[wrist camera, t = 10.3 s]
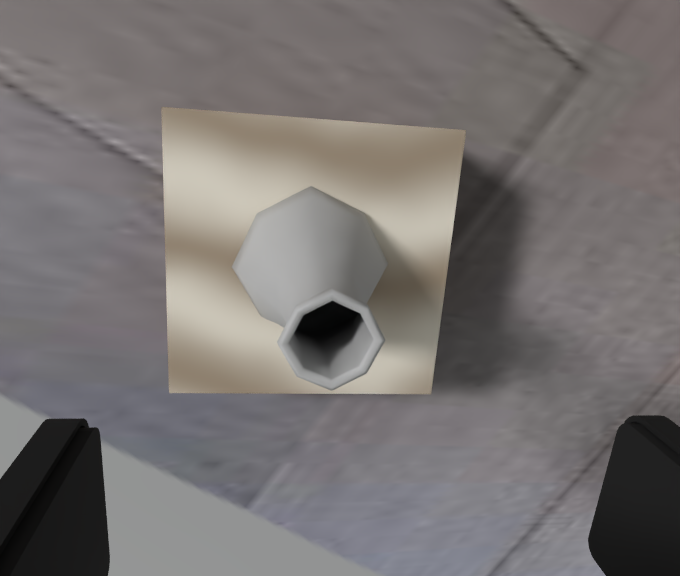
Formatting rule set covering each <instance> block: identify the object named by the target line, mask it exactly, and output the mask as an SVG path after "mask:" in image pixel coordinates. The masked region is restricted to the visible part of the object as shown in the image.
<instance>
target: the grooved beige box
mask: <svg viewBox="0 0 680 576" xmlns="http://www.w3.org/2000/svg"><path fill="white" fill-rule="evenodd" d="M465 135H466V130H455V129H442V128H429V127H416V126H403V125H390V124H377V123H364V122H351V121H338V120H325V119H312V118H299V117H286V116H273V115H260V114H247V113H234V112H221V111H208V110H195V109H182V108H169V107H162V144H163V181H164V219H165V256H166V293H167V331H168V368H169V393H296V394H431V390H432V382H433V375H434V367H435V360H436V352H437V345H438V337H439V330H440V322H441V315H442V307H443V300H444V292H445V285H446V277H447V270H448V262H449V255H450V247H451V240H452V232H453V225H454V217H455V210H456V203H457V195H458V188H459V180H460V173H461V165H462V158H463V150H464V143H465ZM310 186H312V187H314V188H316V189H318V190H320V191H322V192H324V193H326V194H328V195H330V196H332V197H334V198H336V199H338V200H340V201H342V202H344V203H346V204H348V205H350V206H352V207H354V208H356V209H358V210H360V211H362V212H364V214H365V216H366V218H367V220H368V222H369V224H370V226H371V228H372V231H373V233H374V235H375V237H376V239H377V241H378V243H379V245H380V247H381V250H382V252H383V254H384V256H385V258H386V260H387V262H388V265H387V267H386V269H385V271H384V272H383V274H382V276H381V278H380V280H379V282H378V284H377V285H376V287H375V289H374V291H373V293H372V295H371V297H370V298H369V300H368V302H367V304H368V306H369V308H370V310H371V312H372V314H373V316H374V318H375V320H376V322H377V324H378V326H379V328H380V330H381V332H382V334H383V336H384V338H385V342H384V344H383V345H382V347H381V349H380V351H379V353H378V354H377V356H376V358H375V360H374V362H373V363H372V365H371V367H370V369H369V371H368V372H367V374H365V375H363V376H361V377H359V378H357V379H355V380H353V381H351V382H349V383H347V384H345V385H343V386H341V387H339V388H337V389H335V390H333V391H331V390H328V389H326V388H323V387H321V386H318V385H316V384H314V383H311V382H309V381H306V380H304V379H301V378H299V377H296V375H295V373H294V371H293V370H292V368H291V366H290V365H289V363H288V361H287V359H286V358H285V356H284V354H283V353H282V351H281V349H280V347H279V346H278V343H277V341H278V339H279V337H280V335H281V333H282V331H283V329H284V327H282V326H280V325H279V324H277V323H274V322H272V321H270V320H267V319H265V318H263V317H261V316H260V314H259V313H258V311H257V309H256V307H255V306H254V304H253V302H252V301H251V299H250V297H249V295H248V294H247V292H246V290H245V289H244V287H243V285H242V283H241V282H240V280H239V278H238V277H237V275H236V273H235V271H234V270H233V268H232V265H233V263H234V261H235V259H236V257H237V255H238V252H239V250H240V248H241V246H242V244H243V242H244V240H245V237H246V235H247V233H248V231H249V229H250V227H251V225H252V223H253V220H254V218H255V216H256V214H257V213H259V212H261V211H263V210H265V209H267V208H269V207H271V206H272V205H274V204H276V203H278V202H280V201H282V200H284V199H286V198H288V197H290V196H292V195H294V194H296V193H298V192H300V191H302V190H304V189H306V188H308V187H310Z"/></svg>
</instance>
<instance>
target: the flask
mask: <svg viewBox="0 0 680 576" xmlns="http://www.w3.org/2000/svg"><path fill="white" fill-rule="evenodd" d="M387 265H388V262H387V260H386V258H385V256H384V254H383V252H382V250H381V247H380V245H379V243H378V241H377V239H376V237H375V235H374V233H373V231H372V228H371V226H370V224H369V222H368V220H367V218H366V216H365V214H364V212H362V211H360V210H358V209H356V208H354V207H352V206H350V205H348V204H346V203H344V202H342V201H340V200H338V199H336V198H334V197H332V196H330V195H328V194H326V193H324V192H322V191H320V190H318V189H316V188H314V187H312V186H310V187H308V188H306V189H304V190H302V191H300V192H298V193H296V194H294V195H292V196H290V197H288V198H286V199H284V200H282V201H280V202H278V203H276V204H274V205H272V206H271V207H269V208H267V209H265V210H263V211H261V212H259V213H257V214H256V216H255V218H254V220H253V223H252V225H251V227H250V229H249V231H248V233H247V235H246V237H245V240H244V242H243V244H242V246H241V248H240V250H239V252H238V255H237V257H236V259H235V261H234V263H233V265H232V268H233V270H234V271H235V273H236V275H237V277H238V278H239V280H240V282H241V283H242V285H243V287H244V289H245V290H246V292H247V294H248V295H249V297H250V299H251V301H252V302H253V304H254V306H255V307H256V309H257V311H258V313H259V314H260V316H261V317H263V318H265V319H267V320H270V321H272V322H274V323H277V324H279V325H280V326H282V327H284V329H283V331H282V333H281V335H280V337H279V339H278V341H277V343H278V346H279V347H280V349H281V351H282V353H283V354H284V356H285V358H286V359H287V361H288V363H289V365H290V366H291V368H292V370H293V371H294V373H295V375H296V377H299V378H301V379H304V380H306V381H309V382H311V383H314V384H316V385H318V386H321V387H323V388H326V389H328V390H331V391H333V390H335V389H337V388H339V387H341V386H343V385H345V384H347V383H349V382H351V381H353V380H355V379H357V378H359V377H361V376H363V375H365V374H367V372H368V371H369V369H370V367H371V365H372V363H373V362H374V360H375V358H376V356H377V354H378V353H379V351H380V349H381V347H382V345H383V344H384V342H385V338H384V336H383V334H382V332H381V330H380V328H379V326H378V324H377V322H376V320H375V318H374V316H373V314H372V312H371V310H370V308H369V306H368V304H367V302H368V300H369V298H370V297H371V295H372V293H373V291H374V289H375V287H376V285H377V284H378V282H379V280H380V278H381V276H382V274H383V272H384V271H385V269H386V267H387Z"/></svg>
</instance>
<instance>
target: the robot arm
mask: <svg viewBox="0 0 680 576" xmlns="http://www.w3.org/2000/svg"><path fill="white" fill-rule="evenodd" d="M105 505H106V503H105V491H104V479H103V465H102V453H101V440H100V432H99V429H98V428H89V426H88V423H87V420H85V419H46V420H45V421H44V422H43V423H42V424H41V426H40V427H39V428H38V430H37V431H36V433H35V434H34V435H33V436H32V438H31V439H30V440H29V442H28V443H27V444H26V446H25V447H24V448H23V450H22V451H21V452H20V454H19V455H18V456H17V458H16V459H15V460H14V462H13V463H12V464H11V466H10V467H9V468H8V470H7V471H6V472H5V474H4V475H3V476H2V478H1V479H0V576H108V571H109V563H110V555H109V541H108V530H107V516H106V506H105ZM588 543H589V549H590V552H591V555H592V557H593V558H594V560H595V561H596V563H597V564H598V565H599V567H600V568H601V570H602V571H603V572H604V574H605V575H606V576H680V427H679V426H678V425H676V424H675V423H674V422H672V421H671V420H670V419H668V418H666V417H664V416H631V417H629V418H628V419H627V420H626V421H625V423H624V424H622V425H621V426H620V427H619V428H618V430H617V434H616V437H615V441H614V445H613V448H612V452H611V456H610V459H609V463H608V467H607V471H606V474H605V478H604V482H603V485H602V489H601V493H600V496H599V500H598V504H597V507H596V511H595V515H594V519H593V522H592V526H591V530H590V533H589V538H588Z"/></svg>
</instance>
